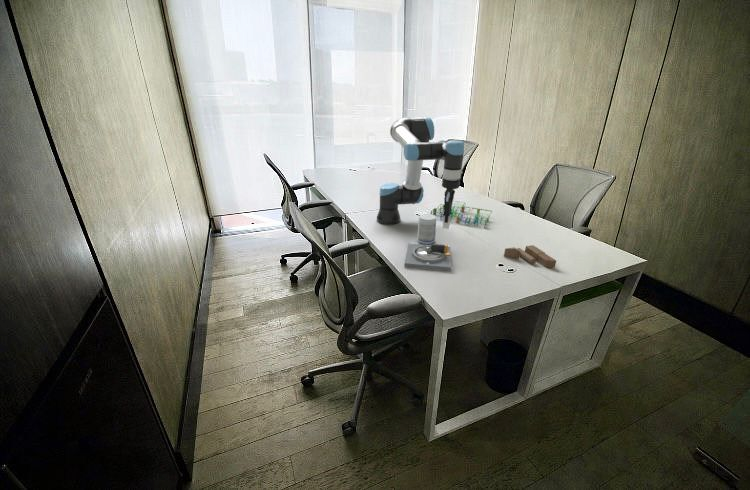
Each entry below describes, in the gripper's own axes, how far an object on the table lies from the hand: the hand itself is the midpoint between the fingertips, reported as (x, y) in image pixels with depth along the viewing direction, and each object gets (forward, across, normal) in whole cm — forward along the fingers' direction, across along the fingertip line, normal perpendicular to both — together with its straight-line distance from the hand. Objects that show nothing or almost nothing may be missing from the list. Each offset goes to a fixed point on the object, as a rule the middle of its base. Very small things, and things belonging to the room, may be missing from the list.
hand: (445, 227), depth 153 cm
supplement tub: (+20, +22, +13) cm, 33 cm away
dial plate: (+19, +3, +7) cm, 21 cm away
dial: (+17, +3, +6) cm, 18 cm away
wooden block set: (+20, +18, -40) cm, 48 cm away
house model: (+21, +70, -1) cm, 73 cm away
